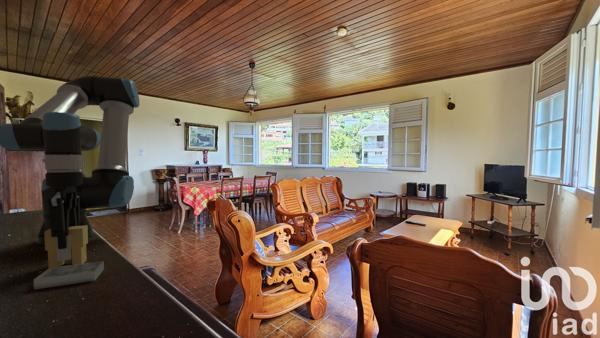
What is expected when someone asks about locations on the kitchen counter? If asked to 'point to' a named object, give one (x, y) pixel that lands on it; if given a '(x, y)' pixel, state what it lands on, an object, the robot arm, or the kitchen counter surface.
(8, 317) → the kitchen counter surface
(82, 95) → the robot arm
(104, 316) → the kitchen counter surface
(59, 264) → the yellow notched block
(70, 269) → the grey flat frame
